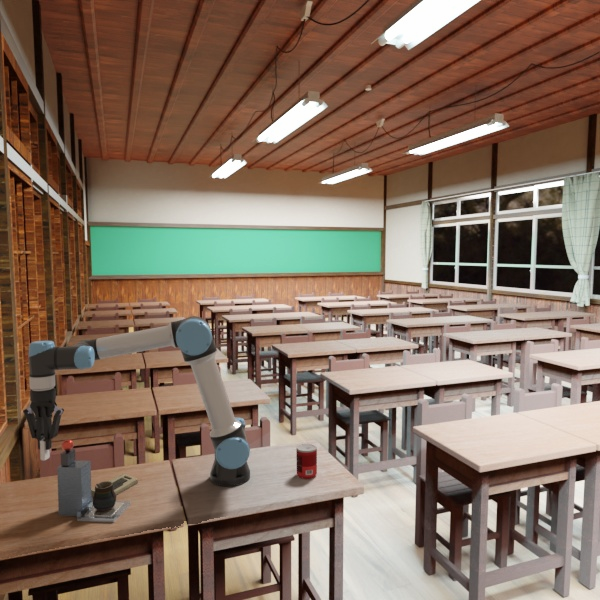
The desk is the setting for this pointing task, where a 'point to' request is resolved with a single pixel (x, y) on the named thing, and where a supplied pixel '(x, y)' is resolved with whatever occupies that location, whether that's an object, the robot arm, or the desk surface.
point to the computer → (120, 483)
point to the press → (82, 495)
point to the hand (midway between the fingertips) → (45, 458)
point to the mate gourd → (104, 496)
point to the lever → (67, 453)
